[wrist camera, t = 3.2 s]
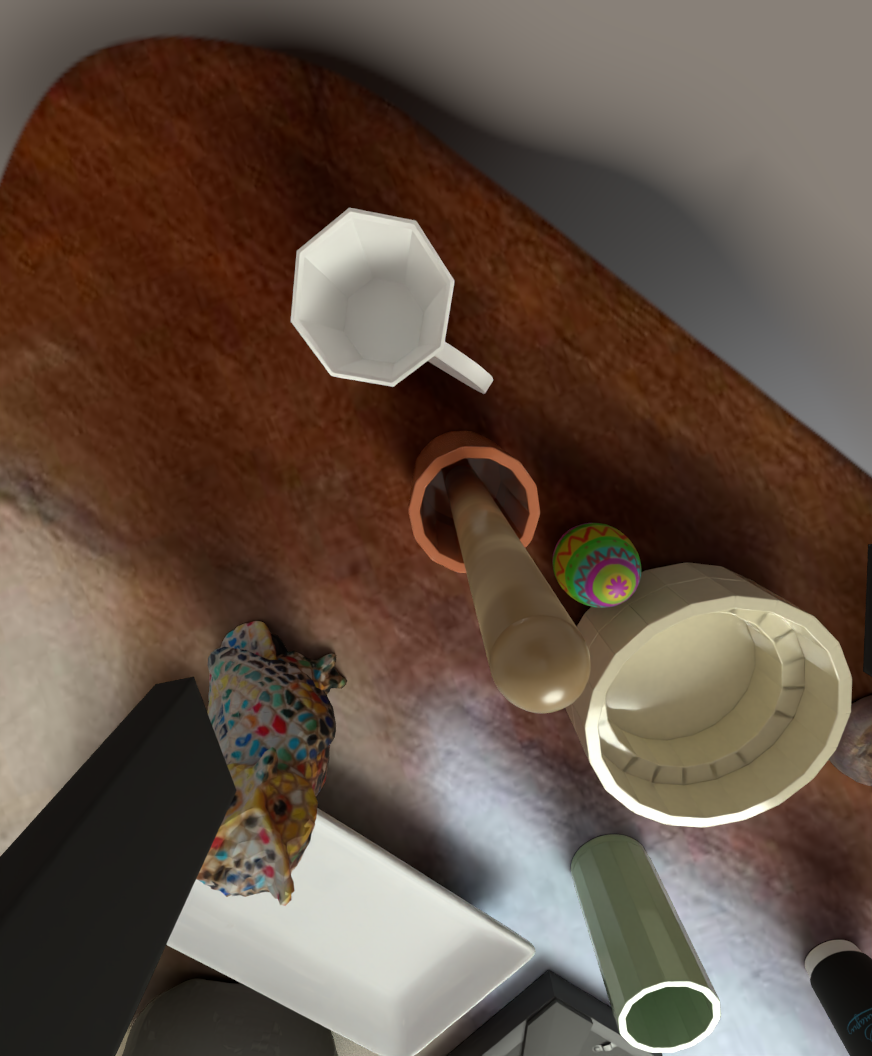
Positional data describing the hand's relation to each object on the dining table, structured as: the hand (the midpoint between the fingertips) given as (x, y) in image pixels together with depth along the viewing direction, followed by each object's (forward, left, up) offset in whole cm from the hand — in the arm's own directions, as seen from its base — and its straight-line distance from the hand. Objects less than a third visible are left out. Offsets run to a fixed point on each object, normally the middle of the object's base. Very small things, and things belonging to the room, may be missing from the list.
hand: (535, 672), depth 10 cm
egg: (-7, +6, -22) cm, 24 cm away
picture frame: (+3, +54, -22) cm, 58 cm away
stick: (0, 0, -21) cm, 21 cm away
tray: (+17, +29, -22) cm, 40 cm away
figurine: (+14, +11, -22) cm, 28 cm away
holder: (0, 0, -22) cm, 22 cm away
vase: (-6, +33, -22) cm, 40 cm away
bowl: (-12, +16, -22) cm, 30 cm away
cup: (+1, -9, -22) cm, 24 cm away
